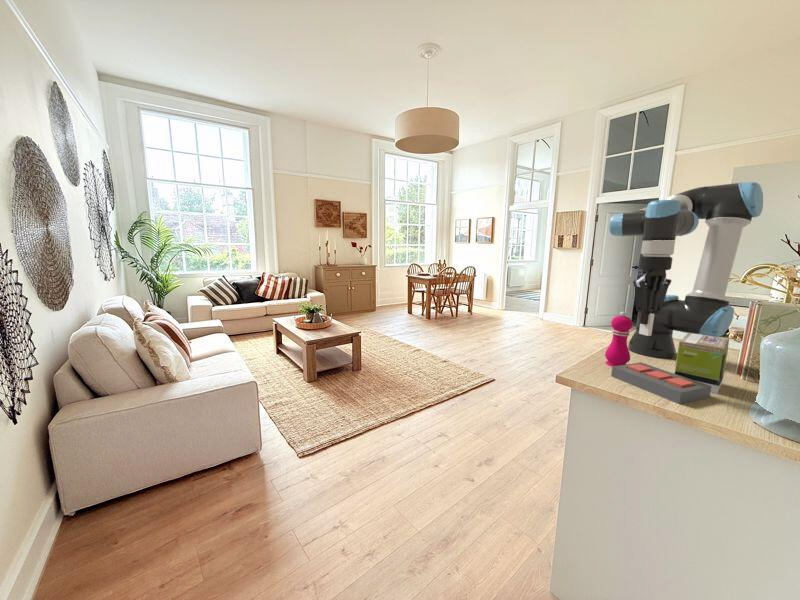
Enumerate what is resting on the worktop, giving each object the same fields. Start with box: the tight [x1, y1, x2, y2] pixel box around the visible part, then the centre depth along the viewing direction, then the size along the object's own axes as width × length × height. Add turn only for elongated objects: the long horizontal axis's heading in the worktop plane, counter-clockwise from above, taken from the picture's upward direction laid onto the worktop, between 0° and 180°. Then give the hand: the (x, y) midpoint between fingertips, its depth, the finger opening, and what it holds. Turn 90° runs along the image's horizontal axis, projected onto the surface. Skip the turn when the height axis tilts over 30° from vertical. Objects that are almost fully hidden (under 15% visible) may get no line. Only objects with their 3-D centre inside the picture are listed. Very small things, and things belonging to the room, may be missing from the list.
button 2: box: [646, 371, 672, 380], centre depth 96 cm, size 5×4×4 cm
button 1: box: [627, 364, 652, 373], centre depth 101 cm, size 5×4×4 cm
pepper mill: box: [604, 311, 633, 368], centre depth 112 cm, size 7×7×20 cm
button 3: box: [666, 377, 694, 388], centre depth 91 cm, size 5×4×4 cm
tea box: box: [673, 333, 730, 395], centre depth 99 cm, size 15×10×15 cm
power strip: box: [610, 361, 712, 405], centre depth 99 cm, size 13×26×4 cm, turn 19°
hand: (645, 334), depth 99 cm, fingers closed
